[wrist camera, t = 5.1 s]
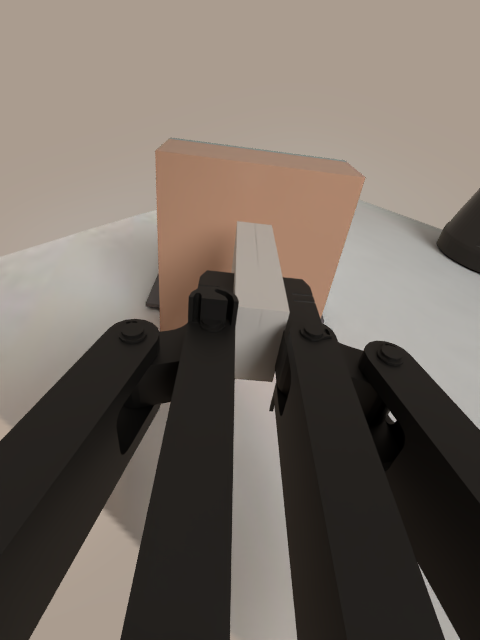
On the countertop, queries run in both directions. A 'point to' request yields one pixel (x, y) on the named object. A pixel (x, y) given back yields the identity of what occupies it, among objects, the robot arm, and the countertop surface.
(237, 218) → the tile
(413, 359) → the robot arm
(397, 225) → the countertop surface
